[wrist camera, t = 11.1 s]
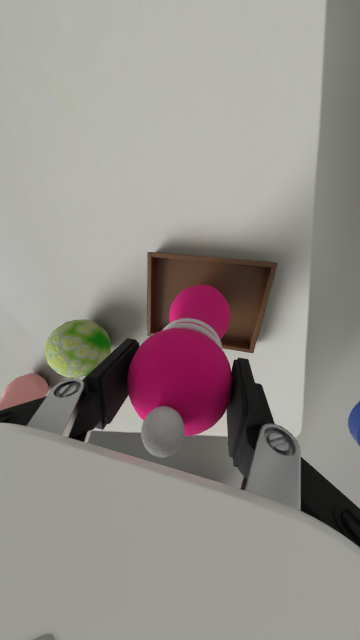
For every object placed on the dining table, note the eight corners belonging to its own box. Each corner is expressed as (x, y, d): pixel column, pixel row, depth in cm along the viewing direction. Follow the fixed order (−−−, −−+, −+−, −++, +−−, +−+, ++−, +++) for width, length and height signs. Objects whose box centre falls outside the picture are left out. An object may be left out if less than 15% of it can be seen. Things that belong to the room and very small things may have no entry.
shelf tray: (271, 262, 24) (277, 262, 21) (250, 344, 29) (253, 353, 26) (154, 252, 27) (147, 252, 24) (152, 329, 31) (147, 335, 29)
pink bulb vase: (24, 374, 44) (-41, 413, 33) (39, 363, 41) (-26, 402, 30) (44, 396, 45) (-11, 440, 34) (60, 387, 43) (6, 432, 32)
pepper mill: (226, 276, 23) (261, 368, 4) (230, 327, 25) (263, 528, 6) (174, 284, 24) (40, 370, 6) (182, 330, 27) (102, 495, 8)
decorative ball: (72, 340, 37) (24, 369, 27) (85, 302, 32) (32, 321, 23) (112, 364, 37) (76, 401, 27) (129, 330, 33) (94, 359, 23)
